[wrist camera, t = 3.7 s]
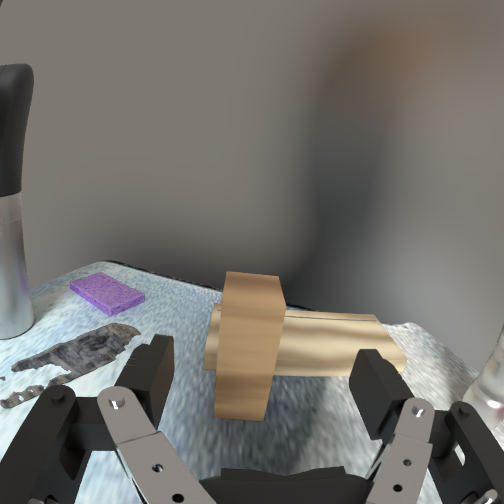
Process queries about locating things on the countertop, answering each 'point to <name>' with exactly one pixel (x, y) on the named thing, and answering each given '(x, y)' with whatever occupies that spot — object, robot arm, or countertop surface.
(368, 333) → the pine board
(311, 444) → the countertop surface
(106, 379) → the countertop surface
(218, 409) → the block
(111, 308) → the sponges
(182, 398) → the countertop surface
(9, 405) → the driftwood
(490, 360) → the plastic bottle
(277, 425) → the countertop surface
